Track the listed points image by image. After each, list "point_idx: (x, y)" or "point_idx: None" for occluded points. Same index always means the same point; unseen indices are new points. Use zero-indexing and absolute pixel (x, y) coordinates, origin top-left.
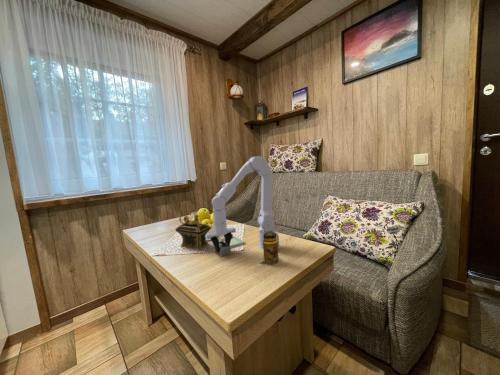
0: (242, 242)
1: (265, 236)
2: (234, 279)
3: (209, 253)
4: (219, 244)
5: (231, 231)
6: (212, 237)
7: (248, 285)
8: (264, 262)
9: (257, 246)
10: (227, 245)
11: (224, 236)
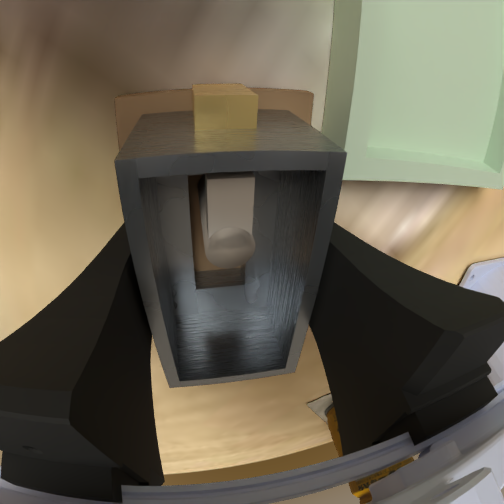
0: (486, 186)
1: None
2: (157, 440)
3: (66, 100)
4: (211, 225)
5: (488, 417)
6: (51, 498)
7: (187, 456)
8: (331, 404)
9: (467, 280)
10: (287, 331)
11: (393, 326)
